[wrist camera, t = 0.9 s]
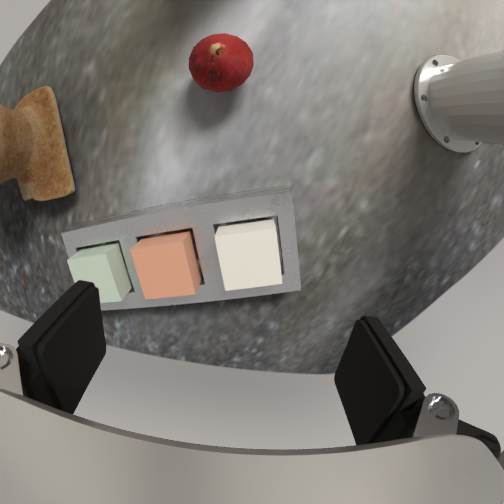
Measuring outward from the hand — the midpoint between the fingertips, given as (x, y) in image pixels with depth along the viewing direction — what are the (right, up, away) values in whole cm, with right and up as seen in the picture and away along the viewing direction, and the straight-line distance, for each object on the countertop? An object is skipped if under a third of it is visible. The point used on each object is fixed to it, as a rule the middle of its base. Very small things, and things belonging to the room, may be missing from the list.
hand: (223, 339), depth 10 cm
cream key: (+1, +3, +18) cm, 19 cm away
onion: (-2, +21, +16) cm, 27 cm away
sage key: (-15, +1, +19) cm, 24 cm away
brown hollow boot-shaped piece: (-26, +16, +18) cm, 36 cm away
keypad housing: (-7, +4, +22) cm, 24 cm away
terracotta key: (-7, +2, +19) cm, 20 cm away
